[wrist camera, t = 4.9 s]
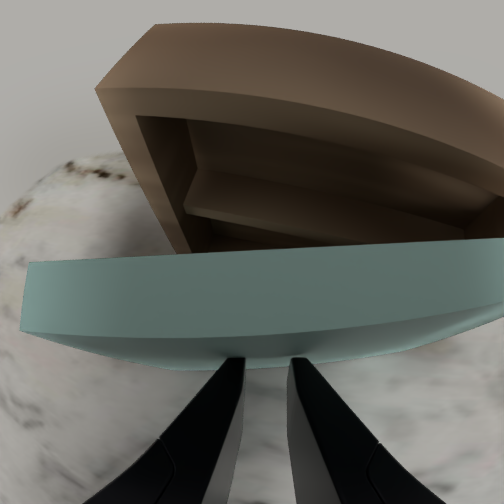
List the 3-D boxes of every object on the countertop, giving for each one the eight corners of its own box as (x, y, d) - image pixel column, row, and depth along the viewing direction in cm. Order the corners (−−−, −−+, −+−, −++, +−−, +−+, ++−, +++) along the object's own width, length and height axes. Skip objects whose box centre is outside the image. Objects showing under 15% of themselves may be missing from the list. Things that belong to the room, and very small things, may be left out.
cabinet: (412, 322, 15) (586, 215, 4) (188, 275, 16) (94, 88, 5) (416, 270, 16) (555, 132, 5) (205, 224, 17) (154, 24, 6)
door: (422, 347, 14) (591, 277, 4) (173, 370, 14) (19, 330, 4) (418, 325, 15) (579, 234, 5) (172, 345, 14) (29, 262, 4)
